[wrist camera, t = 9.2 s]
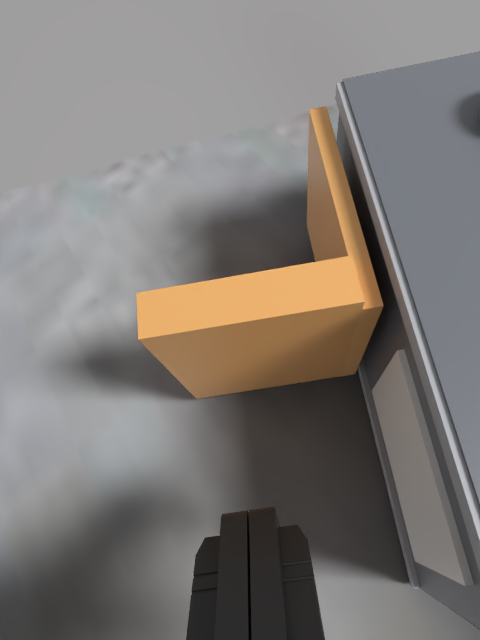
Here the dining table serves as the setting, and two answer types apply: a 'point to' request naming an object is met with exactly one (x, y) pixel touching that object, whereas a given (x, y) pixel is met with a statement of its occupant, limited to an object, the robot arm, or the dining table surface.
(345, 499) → the dining table surface
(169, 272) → the dining table surface
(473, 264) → the block
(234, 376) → the orange l-shaped bracket
